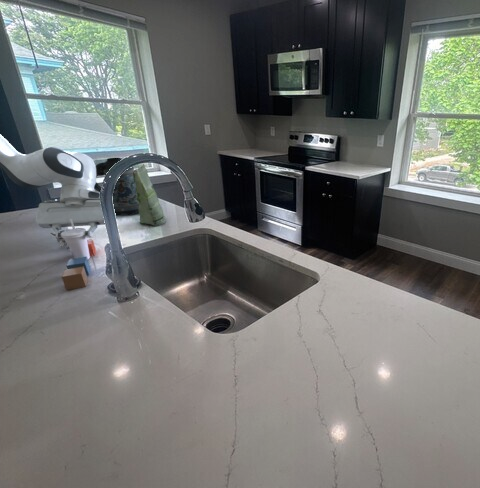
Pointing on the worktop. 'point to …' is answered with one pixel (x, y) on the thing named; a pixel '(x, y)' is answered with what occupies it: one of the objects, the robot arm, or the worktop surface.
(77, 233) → the smoothie
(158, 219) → the pouch
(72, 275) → the block row
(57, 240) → the eagle figurine
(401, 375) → the worktop surface
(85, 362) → the worktop surface
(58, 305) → the worktop surface
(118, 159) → the beer stein
